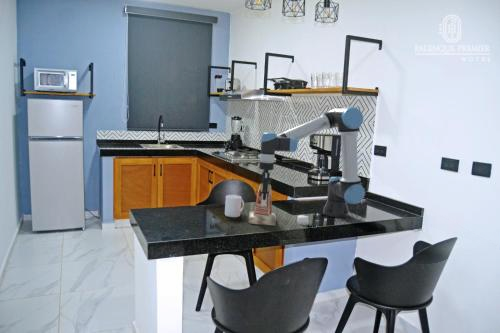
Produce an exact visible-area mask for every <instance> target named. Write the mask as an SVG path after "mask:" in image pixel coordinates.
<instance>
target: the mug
mask: <svg viewBox="0 0 500 333" xmlns="http://www.w3.org/2000/svg"><path fill="white" fill-rule="evenodd" d="M224 205H225V206H224V215H225V217H228V218H238V217H240V216H241V212H242V211H243V210H244V205H245V201H244V200H243V198H242V196H241V195H238V194H237V195H236V194H227V195H225V204H224Z"/></svg>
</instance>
